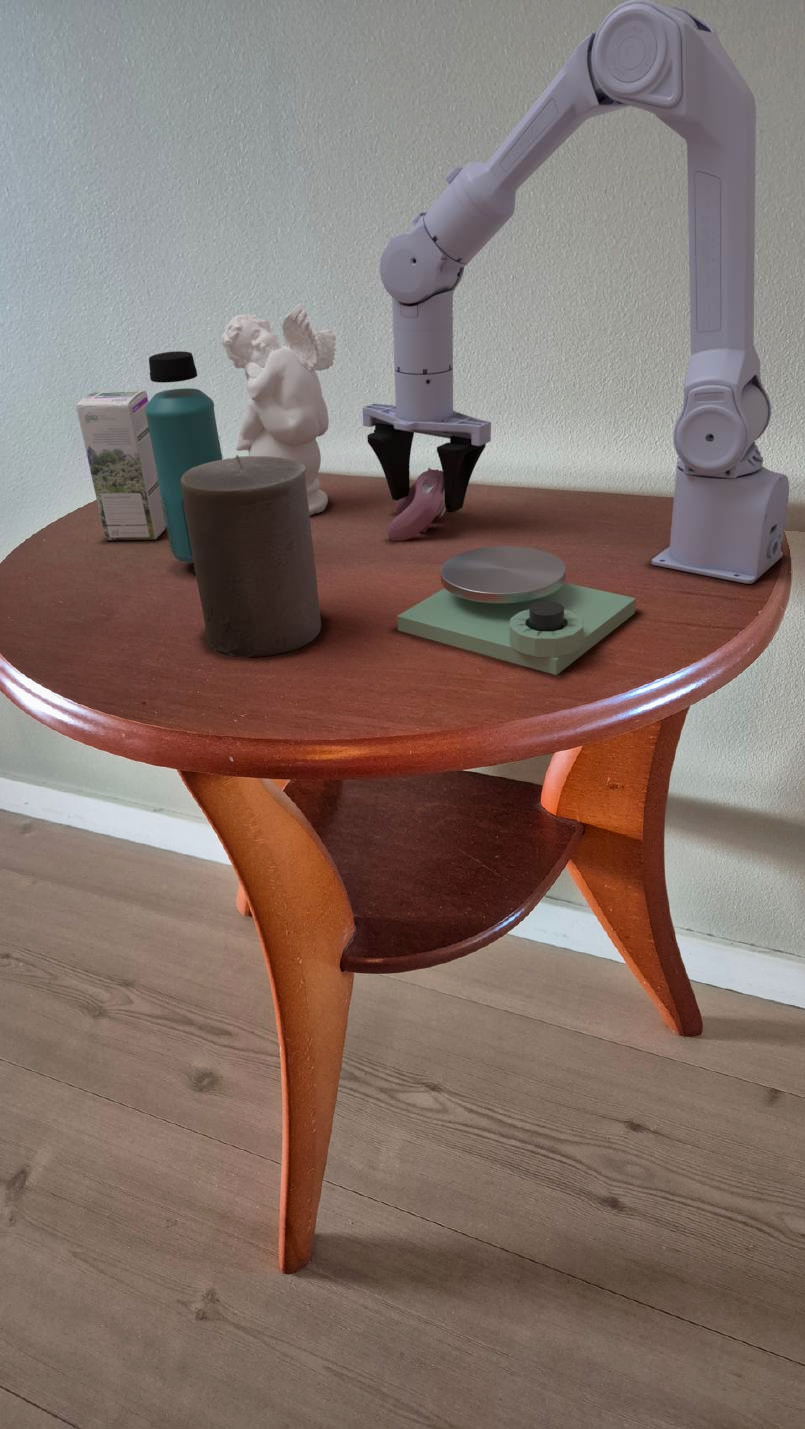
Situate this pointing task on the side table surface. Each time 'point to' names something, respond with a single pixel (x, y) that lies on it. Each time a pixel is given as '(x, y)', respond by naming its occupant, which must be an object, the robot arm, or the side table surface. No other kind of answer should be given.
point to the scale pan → (503, 574)
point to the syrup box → (122, 464)
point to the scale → (520, 625)
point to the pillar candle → (253, 554)
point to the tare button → (546, 616)
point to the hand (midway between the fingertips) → (426, 503)
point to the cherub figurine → (283, 391)
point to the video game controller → (418, 506)
